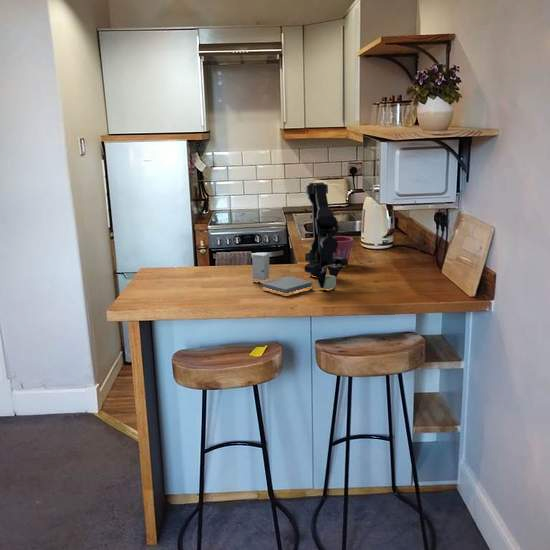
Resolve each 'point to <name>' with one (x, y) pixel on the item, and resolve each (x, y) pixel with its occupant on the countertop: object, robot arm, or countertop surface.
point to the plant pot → (343, 247)
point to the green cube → (329, 282)
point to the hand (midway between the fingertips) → (326, 286)
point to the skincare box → (260, 266)
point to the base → (287, 284)
